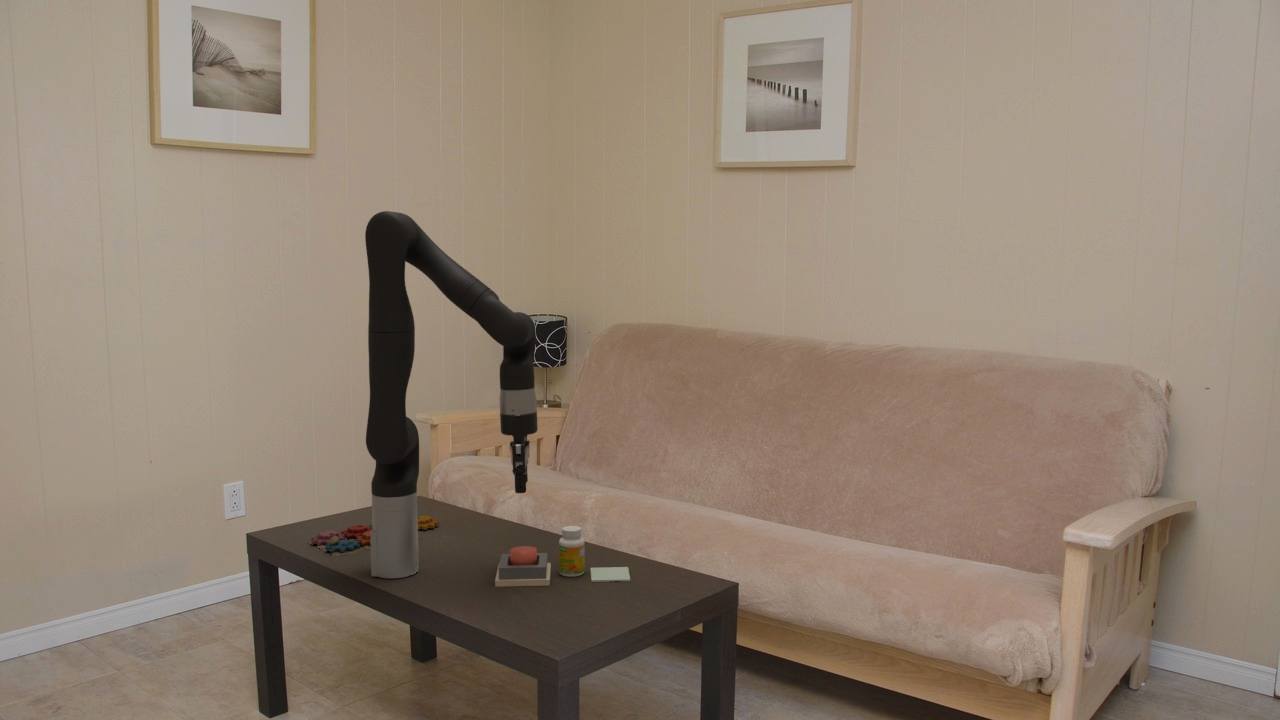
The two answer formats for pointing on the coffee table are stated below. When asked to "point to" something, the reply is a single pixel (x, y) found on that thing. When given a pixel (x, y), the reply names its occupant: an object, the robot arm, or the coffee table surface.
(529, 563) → the dome button
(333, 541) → the gear puzzle
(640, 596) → the coffee table surface
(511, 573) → the dome console
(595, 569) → the mat
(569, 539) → the supplement bottle
